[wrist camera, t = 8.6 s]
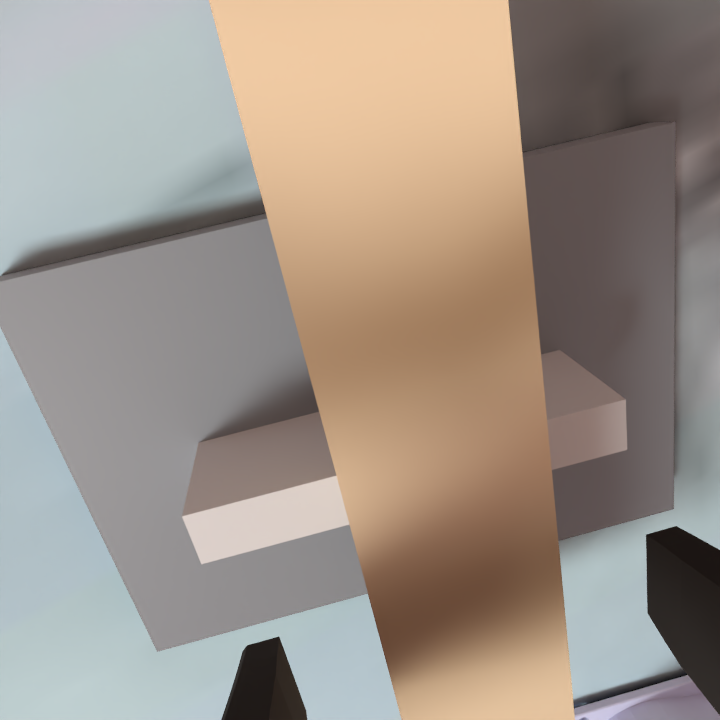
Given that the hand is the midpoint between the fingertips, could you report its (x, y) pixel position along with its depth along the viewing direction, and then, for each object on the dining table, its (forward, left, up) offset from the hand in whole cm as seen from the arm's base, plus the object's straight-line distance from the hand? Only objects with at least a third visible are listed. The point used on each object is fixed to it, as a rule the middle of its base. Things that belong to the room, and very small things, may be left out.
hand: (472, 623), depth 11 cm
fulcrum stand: (0, 0, -10) cm, 10 cm away
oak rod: (0, 0, -5) cm, 5 cm away
